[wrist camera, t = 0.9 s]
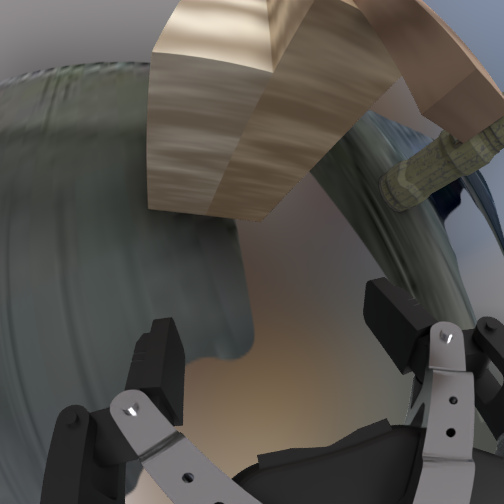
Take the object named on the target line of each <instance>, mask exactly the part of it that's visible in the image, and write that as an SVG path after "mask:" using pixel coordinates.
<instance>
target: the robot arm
mask: <svg viewBox="0 0 504 504" xmlns="http://www.w3.org/2000/svg"><path fill="white" fill-rule="evenodd" d="M363 315H364V319H365V322H366V324H367V326H368V327H369V328H370V330H371V331H372V332H373V334H374V335H375V336H376V338H377V339H378V341H379V342H380V344H381V345H382V346H383V348H384V349H385V351H386V352H387V353H388V355H389V356H390V358H391V359H392V360H393V362H394V363H395V365H396V366H397V368H398V369H399V371H400V372H401V373H402V374H403V375H404V374H407V373H409V372H411V371H413V372H414V374H415V375H414V377H413V382H412V388H411V395H410V401H409V406H408V412H407V416H406V419H405V422H404V424H403V425H390V424H389V422H388V420H387V418H386V419H384V420H381V421H379V422H376V423H373V424H371V425H368V426H365V427H363V428H360V429H357V430H356V431H354V432H353V433H351V434H349V435H348V436H346V437H344V438H343V439H341V440H339V441H338V442H336V443H335V444H332V445H330V446H327V447H316V448H290V449H286V450H281V451H277V452H271V453H266V454H260V455H257V457H258V462H259V463H256V464H254V465H252V466H250V467H248V468H246V469H244V470H243V471H241V472H240V473H238V474H237V475H236V476H234V477H233V478H232V479H230V478H229V477H228V476H227V475H226V474H225V473H223V472H222V471H221V470H220V469H219V468H218V467H217V466H215V465H214V464H213V463H212V462H211V461H210V460H209V459H208V458H207V457H206V456H205V455H204V454H202V452H200V451H199V450H198V449H197V448H196V447H195V446H194V445H193V444H192V443H191V442H190V441H189V440H188V439H187V438H186V437H185V436H184V435H183V434H182V433H181V432H180V433H179V432H178V431H177V430H176V429H175V428H174V426H182V425H183V398H184V374H185V353H184V348H183V345H182V342H181V339H180V336H179V334H178V331H177V328H176V325H175V322H174V320H173V318H172V317H170V318H163V319H155V320H153V323H152V327H151V331H150V333H144V334H143V335H142V336H141V337H140V339H139V340H138V341H137V342H136V346H135V350H134V354H133V358H132V362H131V366H130V370H129V374H128V378H127V382H126V387H125V391H124V392H122V393H120V394H118V395H117V396H116V397H115V398H114V399H113V401H112V402H111V405H110V407H109V408H106V409H102V410H99V411H95V412H91V413H89V412H88V411H87V410H86V409H85V408H84V407H83V406H80V405H71V406H69V407H67V408H65V409H64V410H62V411H61V413H60V414H59V416H58V418H57V421H56V424H55V428H54V432H53V436H52V440H51V445H50V449H49V454H48V458H47V463H46V469H45V474H44V480H43V486H42V493H41V501H40V504H125V470H126V462H128V461H132V460H136V459H139V461H140V462H141V464H142V465H143V467H144V468H145V469H146V471H147V472H148V473H149V474H150V476H151V477H152V478H153V479H154V481H155V482H156V483H157V484H158V486H159V487H160V488H161V489H162V490H163V492H165V494H166V495H167V496H168V497H169V498H170V499H171V501H172V502H173V503H174V504H504V383H503V386H502V387H501V385H500V384H499V383H498V381H497V380H496V379H495V377H494V376H493V375H492V374H491V372H490V371H489V370H488V369H487V368H488V366H489V364H490V362H491V361H492V362H493V363H494V364H495V366H496V367H497V368H498V369H499V371H500V372H501V373H502V375H503V377H504V325H503V324H502V323H501V322H500V321H498V320H497V319H495V318H492V317H482V318H480V319H479V320H478V322H477V324H476V327H475V329H469V330H461V329H460V328H459V327H458V326H456V325H455V324H453V323H450V322H438V321H437V320H436V319H435V318H434V317H433V316H432V315H431V314H430V313H429V312H428V311H427V310H426V309H425V308H424V307H423V306H422V305H421V304H419V302H418V301H417V300H416V299H413V297H412V296H411V295H410V294H409V293H408V292H407V291H406V290H404V289H402V288H400V287H398V286H394V285H393V284H391V283H390V282H389V281H388V280H387V279H386V278H385V277H382V278H378V279H374V280H370V281H368V282H367V283H366V290H365V299H364V308H363ZM474 405H475V407H476V408H477V410H478V411H479V413H480V414H481V416H482V418H483V419H484V421H485V422H486V424H487V426H488V427H489V429H490V431H491V432H492V434H493V436H494V437H495V439H496V441H497V450H496V451H495V454H491V453H489V452H486V451H482V450H479V449H476V448H473V434H474Z"/></svg>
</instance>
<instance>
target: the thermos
mask: <svg viewBox="0 0 504 504" xmlns="http://www.w3.org/2000/svg"><path fill="white" fill-rule="evenodd" d="M502 94H503V96H504V92H502ZM503 148H504V116H503V117H501V118H500V119H498V120H497V121H495V122H494V123H493V124H491V125H490V126H488V127H487V128H485V129H484V130H483V131H481V132H480V133H478V134H477V135H475V136H474V137H472V138H471V139H469V140H468V141H466V142H465V143H462V142H461V141H460V140H458V139H457V138H455V137H454V136H453V135H451V134H450V133H448V132H447V131H446V130H443V131H442V132H441V133H440V135H439V137H438V138H437V139H435V140H434V141H433V142H431V143H430V144H429V145H427V146H426V147H425V148H423V149H422V150H420V151H419V152H418V153H416V154H415V155H414V156H412V157H411V158H409V159H408V160H404V161H400V162H399V163H398V164H396V165H395V166H394V167H392V168H391V169H390V170H388V172H387V173H386V174H384V175H383V176H381V178H380V180H379V189H380V193H381V195H382V198H383V199H384V201H385V202H386V204H387V205H388V206H389V207H390V208H391V209H393V210H394V211H397V212H403V211H405V210H406V209H408V208H412V207H414V206H416V205H418V204H420V203H421V202H423V201H424V200H426V199H427V198H428V197H429V196H430V194H431V193H433V192H435V191H437V190H438V189H440V188H442V187H444V186H445V185H447V184H449V183H451V182H452V181H454V180H456V179H457V178H459V177H461V176H465V175H470V174H471V173H473V172H475V171H476V170H478V169H480V168H481V167H483V166H485V165H486V164H488V163H489V162H490V161H491V159H492V158H493V157H494V155H496V154H497V153H499V152H500V150H501V149H503Z"/></svg>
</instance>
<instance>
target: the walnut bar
mask: <svg viewBox="0 0 504 504" xmlns="http://www.w3.org/2000/svg"><path fill="white" fill-rule="evenodd" d="M353 2H354V3H355V4H356V5H357V7H358V8H359V9H360V11H361V12H362V13H363V15H364V16H365V17H366V19H367V20H368V22H369V23H370V24H371V26H372V27H373V29H374V30H375V32H376V33H377V35H378V36H379V38H380V39H381V41H382V42H383V44H384V45H385V47H386V49H387V50H388V52H389V54H390V55H391V57H392V59H393V60H394V62H395V64H396V65H397V67H398V69H399V71H400V73H401V74H402V76H403V78H404V80H405V82H406V84H407V86H408V88H409V90H410V91H411V94H412V96H413V98H414V100H415V102H416V104H417V106H418V108H419V110H420V113H421V115H423V116H424V117H426V118H427V119H429V120H430V121H432V122H434V123H435V124H437V125H438V126H440V127H441V128H443V129H444V130H446V131H447V132H448V133H450V134H451V135H453V136H454V137H455V138H457V139H458V140H460V141H461V142H462V143H465V142H466V141H468V140H469V139H471V138H472V137H474V136H475V135H477V134H478V133H480V132H481V131H483V130H484V129H485V128H487V127H488V126H490V125H491V124H493V123H494V122H495V121H497V120H498V119H500V118H501V117H503V116H504V96H503V94H502V93H501V91H500V90H499V88H498V87H497V85H496V84H495V82H494V81H493V79H492V78H491V77H490V75H489V74H488V72H487V71H486V70H485V68H484V67H483V66H482V64H481V63H480V62H479V60H478V59H477V58H476V57H475V55H474V54H473V53H472V52H471V51H470V49H469V48H468V47H467V46H466V45H465V43H464V42H463V41H462V40H461V39H460V38H459V37H458V36H457V35H456V33H455V32H454V31H453V30H452V29H451V28H450V27H449V26H448V25H447V24H446V23H445V22H444V21H443V20H442V19H441V18H440V17H439V16H438V15H437V14H436V13H435V12H434V11H433V10H432V9H431V8H430V7H429V6H427V5H426V4H425V3H424V2H423V1H422V0H353Z"/></svg>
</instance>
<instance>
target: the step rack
mask: <svg viewBox="0 0 504 504" xmlns="http://www.w3.org/2000/svg"><path fill="white" fill-rule="evenodd" d="M401 76H402V74H401V73H400V71H399V69H398V67H397V65H396V64H395V62H394V60H393V59H392V57H391V55H390V54H389V52H388V50H387V49H386V47H385V45H384V44H383V42H382V41H381V39H380V38H379V36H378V35H377V33H376V32H375V30H374V29H373V27H372V26H371V24H370V23H369V22H368V20H367V19H366V17H365V16H364V15H363V13H362V12H361V11H360V9H359V8H358V7H357V5H356V4H355V3H354V2H353V0H180V2H179V4H178V5H177V7H176V9H175V10H174V12H173V14H172V15H171V17H170V19H169V21H168V22H167V24H166V26H165V28H164V30H163V31H162V33H161V35H160V37H159V39H158V41H157V43H156V45H155V47H154V49H153V51H152V56H151V66H150V78H149V92H148V112H147V193H148V209H152V210H162V211H171V212H181V213H190V214H198V215H207V216H215V217H224V218H232V219H240V220H248V221H255V222H261V221H262V220H263V219H264V218H265V217H266V216H267V215H268V214H269V213H270V212H271V211H272V210H273V209H274V207H275V206H276V205H277V204H278V203H279V202H280V201H281V200H282V199H283V198H284V197H285V196H286V195H287V194H288V193H289V192H290V191H291V190H292V189H293V187H294V186H295V185H296V184H297V183H298V182H299V181H300V180H301V179H302V178H303V177H304V176H305V175H306V174H307V173H308V172H309V171H310V170H311V169H312V168H313V166H314V165H315V164H316V163H317V162H318V161H319V160H320V159H321V158H322V157H323V156H324V155H325V154H326V153H327V152H328V151H329V150H330V149H331V148H332V147H333V146H334V145H335V144H336V143H337V141H338V140H339V139H340V138H341V137H342V136H343V135H344V134H345V133H346V132H347V131H348V130H349V129H350V128H351V127H352V126H353V125H354V124H355V123H356V122H357V121H358V120H359V119H360V118H361V117H362V116H363V115H364V114H365V113H366V112H367V111H368V110H369V109H370V108H371V106H372V105H373V104H374V103H375V102H376V101H377V100H378V99H379V98H380V97H381V96H382V95H383V94H384V93H385V92H386V91H387V90H388V89H389V88H390V87H391V86H392V85H393V84H394V83H395V82H396V81H397V80H398V79H399V78H400V77H401Z"/></svg>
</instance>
